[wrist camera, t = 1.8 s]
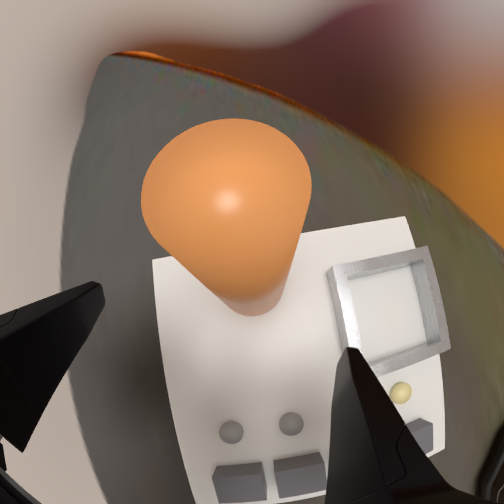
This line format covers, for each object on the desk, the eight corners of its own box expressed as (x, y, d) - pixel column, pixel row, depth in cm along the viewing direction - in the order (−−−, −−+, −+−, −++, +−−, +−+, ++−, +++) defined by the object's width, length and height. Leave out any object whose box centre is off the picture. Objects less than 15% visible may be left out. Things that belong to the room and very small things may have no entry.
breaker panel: (437, 444, 15) (457, 454, 12) (200, 500, 15) (190, 520, 12) (399, 222, 21) (415, 205, 18) (158, 264, 21) (141, 251, 18)
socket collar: (436, 348, 17) (450, 348, 15) (346, 379, 17) (355, 383, 15) (415, 254, 19) (427, 245, 17) (326, 273, 19) (332, 265, 17)
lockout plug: (289, 309, 19) (332, 247, 6) (224, 320, 19) (142, 280, 6) (277, 248, 20) (288, 109, 8) (215, 259, 20) (144, 137, 8)
